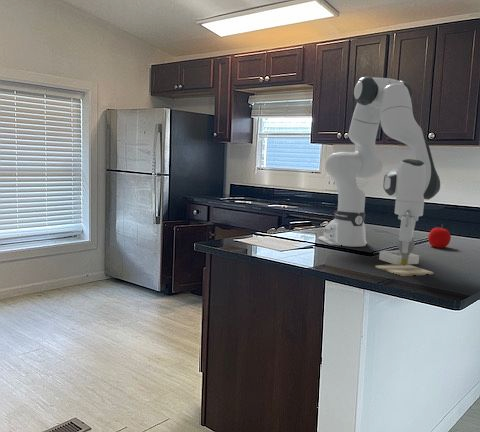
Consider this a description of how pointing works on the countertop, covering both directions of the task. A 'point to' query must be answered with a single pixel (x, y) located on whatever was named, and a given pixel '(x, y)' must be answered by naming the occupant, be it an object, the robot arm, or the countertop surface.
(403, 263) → the light bulb
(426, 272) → the board
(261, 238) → the countertop surface
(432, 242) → the fruit
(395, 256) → the socket
